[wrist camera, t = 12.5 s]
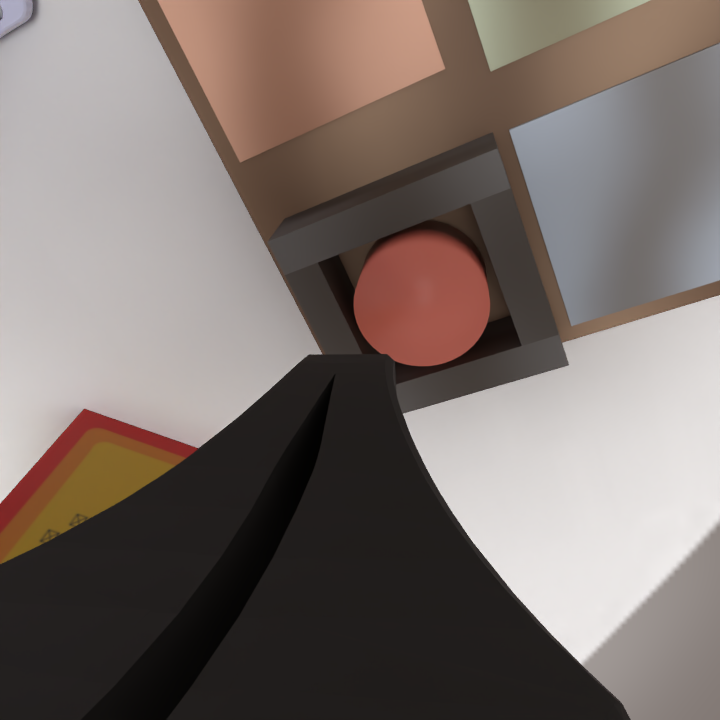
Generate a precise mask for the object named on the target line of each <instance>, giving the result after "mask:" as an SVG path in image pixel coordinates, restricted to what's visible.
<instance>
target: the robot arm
mask: <svg viewBox="0 0 720 720" xmlns="http://www.w3.org/2000/svg"><path fill="white" fill-rule="evenodd" d="M0 6H1V8H2V11H3V18H2V19H1V20H0V37H2V36H4V35H5V34H7V33H8V32H10V31H12V30H13V29H15V28H17V27H18V26H20V25H22V24H23V23H25V22H27V20H28V19H29V18H30V17H31V15H32V12H33V4H32V0H0ZM0 720H630V718H629V716H628V714H627V712H626V710H625V709H624V706H623V705H622V703H621V702H620V701H619V700H618V699H617V698H616V697H615V696H614V695H613V694H612V693H611V692H609V691H608V690H607V689H606V688H605V687H604V686H603V685H602V684H601V683H600V682H599V681H598V680H597V679H596V678H595V677H594V676H593V675H592V674H590V673H589V672H588V671H587V670H586V669H585V668H584V667H583V666H582V665H581V664H580V663H579V662H578V661H577V660H576V659H575V658H574V657H573V656H572V655H571V654H570V653H569V652H568V651H567V650H566V649H565V648H564V647H563V646H562V645H561V644H560V643H559V642H558V641H557V640H556V639H555V638H554V637H553V636H552V635H551V634H550V633H549V632H548V630H547V629H546V628H545V627H544V626H543V625H542V624H541V623H540V622H539V621H538V620H537V618H536V617H535V616H534V615H533V614H532V613H531V612H530V611H529V610H528V609H527V607H526V606H525V605H524V604H523V603H522V602H521V601H520V600H519V599H518V598H517V596H516V595H515V594H514V593H513V592H512V591H511V589H510V588H509V587H508V586H507V584H506V583H505V582H504V581H503V579H502V578H501V577H500V576H499V574H498V573H497V572H496V571H495V569H494V568H493V567H492V566H491V564H490V563H489V562H488V561H487V559H486V558H485V557H484V556H483V554H482V553H481V552H480V551H479V549H478V548H477V547H476V546H475V544H474V543H473V542H472V540H471V539H470V538H469V536H468V535H467V533H466V532H465V530H464V529H463V528H462V526H461V525H460V523H459V522H458V520H457V519H456V517H455V516H454V514H453V513H452V511H451V510H450V508H449V507H448V505H447V503H446V502H445V500H444V498H443V497H442V495H441V494H440V492H439V490H438V489H437V487H436V485H435V483H434V482H433V480H432V478H431V476H430V474H429V472H428V471H427V469H426V467H425V465H424V463H423V461H422V459H421V457H420V455H419V452H418V450H417V448H416V446H415V444H414V442H413V439H412V437H411V435H410V432H409V430H408V427H407V424H406V422H405V419H404V416H403V414H402V411H401V408H400V405H399V402H398V398H397V393H396V376H395V361H394V360H393V359H392V358H391V357H390V356H389V355H388V354H327V355H308V356H307V357H306V358H304V359H303V360H302V361H301V362H300V363H298V364H297V365H296V366H295V367H294V368H293V369H292V370H291V371H290V372H289V373H287V374H286V375H285V376H284V377H283V378H282V379H281V380H280V381H279V382H278V383H277V384H275V385H274V386H273V387H272V388H271V389H270V390H269V391H268V392H267V393H265V394H264V395H263V396H262V397H261V398H260V399H259V400H257V401H256V402H255V403H254V404H253V405H252V406H251V407H249V408H248V409H247V410H246V411H245V412H244V413H243V414H242V415H240V416H239V417H238V418H237V419H236V420H234V421H233V422H232V423H230V424H229V425H228V426H227V427H225V428H224V429H223V430H222V431H220V432H219V433H218V434H217V435H215V436H214V437H213V438H211V439H210V440H209V441H208V442H206V443H205V444H204V445H203V446H201V447H200V448H199V449H197V450H196V451H195V452H194V453H192V454H191V455H190V456H188V457H187V458H186V459H184V460H183V461H181V462H180V463H179V464H177V465H176V466H174V467H173V468H171V469H170V470H168V471H167V472H166V473H164V474H163V475H161V476H160V477H158V478H157V479H155V480H153V481H152V482H150V483H149V484H147V485H146V486H144V487H142V488H141V489H139V490H138V491H136V492H135V493H133V494H132V495H130V496H128V497H127V498H125V499H123V500H122V501H120V502H118V503H117V504H115V505H113V506H111V507H110V508H108V509H106V510H104V511H102V512H100V513H99V514H97V515H95V516H93V517H91V518H89V519H88V520H86V521H84V522H82V523H80V524H78V525H77V526H75V527H73V528H71V529H69V530H67V531H66V532H64V533H62V534H60V535H58V536H56V537H55V538H53V539H51V540H49V541H47V542H45V543H43V544H41V545H39V546H37V547H35V548H33V549H31V550H29V551H27V552H25V553H23V554H21V555H18V556H16V557H14V558H12V559H10V560H8V561H6V562H4V563H2V564H0Z"/></svg>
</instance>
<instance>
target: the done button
mask: <svg viewBox="0 0 720 720" xmlns="http://www.w3.org/2000/svg"><path fill="white" fill-rule="evenodd" d="M489 313H490V297H489V289H488V281H487V273H486V266H485V263H484V260H483V257H482V255H481V253H480V251H479V250H478V248H477V247H476V245H475V244H474V243H473V242H472V240H471V239H470V238H468V237H467V236H466V235H465V234H464V233H462V232H461V231H459V230H458V229H456V228H454V227H452V226H450V225H447V224H444V223H441V222H436V221H424V222H422V223H419V224H416V225H414V226H411V227H409V228H406V229H403V230H401V231H398V232H396V233H393V234H390V235H388V236H385V237H383V238H380V239H378V240H377V241H376V242H375V243H374V244H373V246H372V247H371V249H370V250H369V252H368V254H367V256H366V258H365V261H364V264H363V268H362V271H361V274H360V277H359V280H358V283H357V286H356V289H355V294H354V314H355V318H356V322H357V324H358V327H359V329H360V331H361V333H362V334H363V336H364V337H365V339H366V340H367V341H368V343H369V344H370V345H371V346H372V347H373V348H374V349H376V350H377V351H378V352H379V353H381V354H388V355H389V356H390V357H391V358H392V359H393V360H394V361H396V362H399V363H402V364H407V365H412V366H433V365H439V364H443V363H446V362H449V361H451V360H454V359H455V358H457V357H459V356H461V355H462V354H464V353H465V352H467V351H468V350H469V349H470V348H471V347H472V346H473V345H474V344H475V343H476V342H477V341H478V339H479V338H480V336H481V335H482V333H483V331H484V329H485V327H486V325H487V322H488V318H489Z"/></svg>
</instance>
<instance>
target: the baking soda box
mask: <svg viewBox="0 0 720 720" xmlns="http://www.w3.org/2000/svg"><path fill="white" fill-rule="evenodd" d="M197 449H198V448H195V447H193V446H190V445H187V444H184V443H181V442H178V441H175V440H172V439H170V438H167V437H164V436H161V435H158V434H155V433H152V432H149V431H147V430H144V429H141V428H138V427H135V426H132V425H129V424H126V423H124V422H121V421H118V420H115V419H112V418H109V417H106V416H103V415H101V414H98V413H95V412H92V411H89V410H86V409H84V410H83V411H82V412H81V413H80V414H79V415H78V416H77V417H76V419H75V420H74V421H73V422H72V423H71V424H70V425H69V427H68V428H67V429H66V430H65V431H64V432H63V433H62V434H61V436H60V437H59V438H58V439H57V440H56V441H55V442H54V444H53V445H52V446H51V447H50V448H49V449H48V450H47V451H46V453H45V454H44V455H43V456H42V457H41V458H40V459H39V461H38V462H37V463H36V464H35V465H34V466H33V467H32V468H31V470H30V471H29V472H28V473H27V474H26V475H25V476H24V478H23V479H22V480H21V481H20V482H19V483H18V484H17V485H16V487H15V488H14V489H13V490H12V491H11V492H10V493H9V495H8V496H7V497H6V498H5V499H4V500H3V501H2V502H1V504H0V564H2V563H4V562H6V561H8V560H10V559H12V558H14V557H16V556H18V555H21V554H23V553H25V552H27V551H29V550H31V549H33V548H35V547H37V546H39V545H41V544H43V543H45V542H47V541H49V540H51V539H53V538H55V537H56V536H58V535H60V534H62V533H64V532H66V531H67V530H69V529H71V528H73V527H75V526H77V525H78V524H80V523H82V522H84V521H86V520H88V519H89V518H91V517H93V516H95V515H97V514H99V513H100V512H102V511H104V510H106V509H108V508H110V507H111V506H113V505H115V504H117V503H118V502H120V501H122V500H123V499H125V498H127V497H128V496H130V495H132V494H133V493H135V492H136V491H138V490H139V489H141V488H142V487H144V486H146V485H147V484H149V483H150V482H152V481H153V480H155V479H157V478H158V477H160V476H161V475H163V474H164V473H166V472H167V471H168V470H170V469H171V468H173V467H174V466H176V465H177V464H179V463H180V462H181V461H183V460H184V459H186V458H187V457H188V456H190V455H191V454H192V453H194V452H195V451H196V450H197Z"/></svg>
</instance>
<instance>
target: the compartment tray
mask: <svg viewBox="0 0 720 720" xmlns="http://www.w3.org/2000/svg"><path fill="white" fill-rule="evenodd" d="M138 1H139V3H140V5H141V7H142V9H143V11H144V12H145V14H146V16H147V18H148V20H149V22H150V24H151V26H152V28H153V30H154V32H155V34H156V35H157V37H158V39H159V41H160V43H161V45H162V47H163V49H164V51H165V53H166V55H167V57H168V58H169V60H170V62H171V64H172V66H173V68H174V70H175V72H176V74H177V76H178V78H179V80H180V81H181V83H182V85H183V87H184V89H185V91H186V93H187V95H188V97H189V99H190V101H191V103H192V105H193V106H194V108H195V110H196V112H197V114H198V116H199V118H200V120H201V122H202V124H203V126H204V128H205V129H206V131H207V133H208V135H209V137H210V139H211V141H212V143H213V145H214V147H215V149H216V151H217V152H218V154H219V156H220V158H221V160H222V162H223V164H224V166H225V168H226V170H227V172H228V174H229V175H230V177H231V179H232V181H233V183H234V185H235V187H236V189H237V191H238V193H239V195H240V197H241V198H242V200H243V202H244V204H245V206H246V208H247V210H248V212H249V214H250V216H251V218H252V220H253V222H254V223H255V225H256V227H257V229H258V231H259V233H260V235H261V237H262V239H263V241H264V243H265V245H266V246H267V248H268V250H269V252H270V254H271V256H272V258H273V260H274V262H275V264H276V266H277V268H278V269H279V271H280V273H281V275H282V277H283V279H284V281H285V283H286V285H287V287H288V289H289V291H290V292H291V294H292V296H293V298H294V300H295V302H296V304H297V306H298V308H299V310H300V312H301V314H302V315H303V317H304V319H305V321H306V323H307V325H308V327H309V329H310V331H311V333H312V335H313V337H314V339H315V340H316V342H317V344H318V346H319V348H320V350H321V352H322V354H323V355H327V354H381V353H379V352H378V351H377V350H376V349H374V348H373V347H372V346H371V345H370V344H369V343H368V341H367V340H366V339H365V337H364V336H363V334H362V333H361V331H360V329H359V327H358V324H357V322H356V318H355V314H354V294H355V289H356V286H357V283H358V280H359V277H360V274H361V271H362V268H363V264H364V261H365V258H366V256H367V254H368V252H369V250H370V249H371V247H372V246H373V244H374V243H375V242H376V241H377V240H378V239H380V238H383V237H385V236H388V235H390V234H393V233H396V232H398V231H401V230H403V229H406V228H409V227H411V226H414V225H416V224H419V223H422V222H424V221H436V222H441V223H444V224H447V225H450V226H452V227H454V228H456V229H458V230H459V231H461V232H462V233H464V234H465V235H466V236H467V237H468V238H470V239H471V240H472V242H473V243H474V244H475V245H476V247H477V248H478V250H479V251H480V253H481V255H482V257H483V260H484V263H485V266H486V273H487V281H488V289H489V297H490V313H489V318H488V322H487V325H486V327H485V329H484V331H483V333H482V335H481V336H480V338H479V339H478V341H477V342H476V343H475V344H474V345H473V346H472V347H471V348H470V349H469V350H468V351H467V352H465V353H464V354H462V355H461V356H459V357H457V358H455V359H454V360H451V361H449V362H446V363H443V364H439V365H433V366H412V365H407V364H402V363H399V362H396V361H395V376H396V393H397V398H398V402H399V405H400V408H401V411H402V414H403V413H406V412H410V411H413V410H417V409H420V408H424V407H427V406H430V405H434V404H437V403H441V402H444V401H448V400H451V399H454V398H458V397H461V396H465V395H468V394H472V393H475V392H479V391H482V390H485V389H489V388H492V387H496V386H499V385H503V384H506V383H509V382H513V381H516V380H520V379H523V378H527V377H530V376H533V375H537V374H540V373H544V372H547V371H551V370H554V369H557V368H561V367H564V366H568V365H569V364H568V361H567V358H566V354H565V351H564V348H563V345H562V342H566V341H569V340H572V339H576V338H579V337H582V336H586V335H589V334H592V333H595V332H599V331H602V330H605V329H609V328H612V327H615V326H619V325H622V324H625V323H628V322H632V321H635V320H638V319H642V318H645V317H648V316H652V315H655V314H658V313H661V312H665V311H668V310H671V309H675V308H678V307H681V306H685V305H688V304H691V303H695V302H698V301H701V300H704V299H708V298H711V297H714V296H718V295H720V0H138Z"/></svg>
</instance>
